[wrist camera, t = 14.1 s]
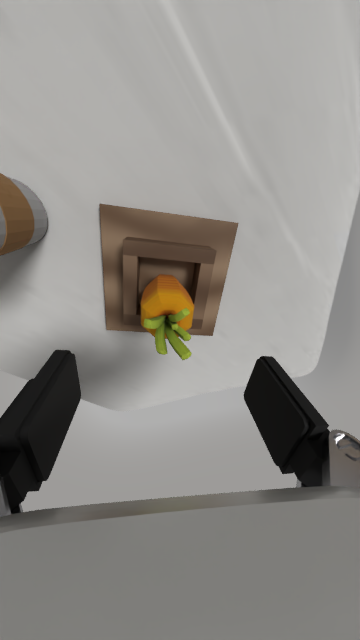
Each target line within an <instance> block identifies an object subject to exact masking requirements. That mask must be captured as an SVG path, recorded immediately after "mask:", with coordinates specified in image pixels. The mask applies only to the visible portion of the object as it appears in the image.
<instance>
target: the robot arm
mask: <svg viewBox="0 0 360 640" xmlns="http://www.w3.org/2000/svg"><path fill="white" fill-rule="evenodd" d="M80 398H81V391H80V385H79V378H78V372H77V366H76V360H75V355H74V354H71V352H70V351H69V350H55V351H54V352H53V354H52V355H51V356H50V358H49V359H48V361H47V362H46V363H45V365H44V366H43V367H42V369H41V370H40V371H39V373H38V374H37V376H36V377H35V378H34V379H31V380H29V381H28V382H27V384H26V385H25V386H24V388H23V389H22V390H21V391H20V393H19V394H18V395H17V397H16V398H15V399H14V401H13V402H12V403H11V405H10V406H9V407H8V409H7V410H6V411H5V413H4V414H3V415H2V417H1V418H0V640H360V441H359V440H358V439H357V438H355V437H354V436H352V435H350V434H349V433H346V432H344V431H341V430H332V431H331V432H330V431H329V430H328V429H327V427H328V426H329V425H328V424H327V422H326V421H325V420H324V419H323V417H322V416H321V415H320V414H319V413H318V412H317V410H316V409H315V408H314V406H313V405H312V404H311V403H310V402H309V400H308V399H307V398H306V397H305V395H304V394H303V393H302V392H301V391H300V389H299V388H298V387H297V386H296V384H295V383H294V382H293V381H292V379H291V378H290V377H289V376H288V375H287V373H286V372H285V371H284V370H283V368H282V367H281V366H280V365H279V363H278V362H277V361H276V360H275V359H274V358H273V357H269V356H261V357H260V358H259V359H257V361H256V364H255V366H254V369H253V371H252V374H251V376H250V379H249V382H248V384H247V387H246V390H245V392H244V400H245V402H246V404H247V406H248V408H249V410H250V412H251V414H252V416H253V419H254V421H255V423H256V425H257V427H258V429H259V431H260V433H261V436H262V438H263V440H264V442H265V444H266V446H267V448H268V450H269V452H270V455H271V457H272V459H273V461H274V463H275V464H276V465H277V466H279V468H280V470H281V472H282V474H287V473H295V475H296V476H297V486H296V488H284V489H272V490H259V491H245V492H232V493H219V494H207V495H195V496H183V497H170V498H158V499H147V500H135V501H124V502H113V503H101V504H90V505H81V506H71V507H62V508H52V509H43V510H35V511H29V512H23V510H22V506H21V502H22V501H24V499H25V497H26V494H27V492H29V491H39V489H40V486H41V484H42V481H46V480H47V479H48V477H49V475H50V473H51V471H52V468H53V466H54V463H55V461H56V458H57V456H58V453H59V451H60V448H61V446H62V443H63V441H64V439H65V436H66V434H67V431H68V429H69V426H70V424H71V421H72V419H73V416H74V414H75V411H76V409H77V406H78V404H79V401H80Z"/></svg>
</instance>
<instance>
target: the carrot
mask: <svg viewBox="0 0 360 640" xmlns="http://www.w3.org/2000/svg"><path fill="white" fill-rule="evenodd" d="M193 312H194V304H193V302H192V299H191V297H190V296H189V294H188V292H187V290H186V289H185V288H184V287H183V286H182V285H181V284H180V282H179V281H178V280H177V279H176V278H175V277H174V276H172V275H164V274H159V275H158V276H157V277H156V278H155V279H153V280H152V281H151V282H150V283H149V284H148V285H147V286H146V288H145V290H144V292H143V296H142V299H141V325H142V326H143V327H144V328H145V329H146V330H147V331H148V332H149V333H151V334H152V335H153V336H154V337H155V344H156V350H157V352H158V353H159V354H164V355H165V354H167V347H166V342H165V339H168V341H169V343H170V344H171V346H172V347H173V349H174V350H175V351H176V353H177V354H178V355H179V356H180V357H181V359H182V360H185V359H188V358H189V357H190V356H191V352H190V351H189V349H188V348H187V347H186V346H185V345H184V343H183V342H182V341H181V340H180V339H179V338H178V337H179V336H180V337H181V338H182V339H183V340H184V341H189V340H190V339H191V336H190V334H189V333H188V332H186V331H187V330H188V329H190V328H191V326H192V319H193Z"/></svg>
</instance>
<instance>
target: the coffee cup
mask: <svg viewBox="0 0 360 640" xmlns="http://www.w3.org/2000/svg"><path fill="white" fill-rule="evenodd" d="M46 229H47V214H46V210H45V208H44V206H43V204H42V202H41V201H40V199H39V198H38V197H37V195H36V194H35V193H34V192H33V191H32V190H31V189H30V188H29V187H28V186H26V185H24V184H23V183H21V182H19V181H17V180H14V179H12V178H9V177H6V176H4V175H3V174H1V173H0V256H1V255H4V254H6V253H9V252H12V251H15V250H18V249H20V248H23V247H24V246H26V245H29V244H32V243H35V242H37V241H38V240H40V239H41V238H42V237H43V236H44V234H45V232H46Z"/></svg>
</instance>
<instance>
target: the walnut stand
mask: <svg viewBox="0 0 360 640" xmlns="http://www.w3.org/2000/svg"><path fill="white" fill-rule="evenodd" d="M100 221H101V239H102V257H103V275H104V293H105V310H106V328H107V330H117V331H135V332H148V331H147V330H146V329H145V328H144V327H143V326H142V325H141V299H142V296H143V292H144V290H145V288H146V286H147V285H148V284H149V283H150V282H151V281H152V280H153V279H155V278H156V277H157V276H158V275H159V274H164V275H172V276H174V277H175V278H176V279H177V280H178V281H179V282H180V284H181V285H182V286H183V287H184V288H185V289H186V290H187V292H188V294H189V296H190V297H191V299H192V302H193V304H194V312H193V319H192V326H191V328H190V329H188V330H187V331H186V332H188V333H189V334H190V335H207V336H213V331H214V327H215V323H216V318H217V314H218V310H219V305H220V301H221V296H222V292H223V288H224V283H225V279H226V275H227V270H228V266H229V262H230V257H231V253H232V249H233V244H234V240H235V236H236V231H237V227H238V223H234V222H227V221H220V220H212V219H205V218H198V217H191V216H184V215H177V214H169V213H162V212H155V211H148V210H141V209H134V208H126V207H119V206H112V205H105V204H100Z"/></svg>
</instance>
